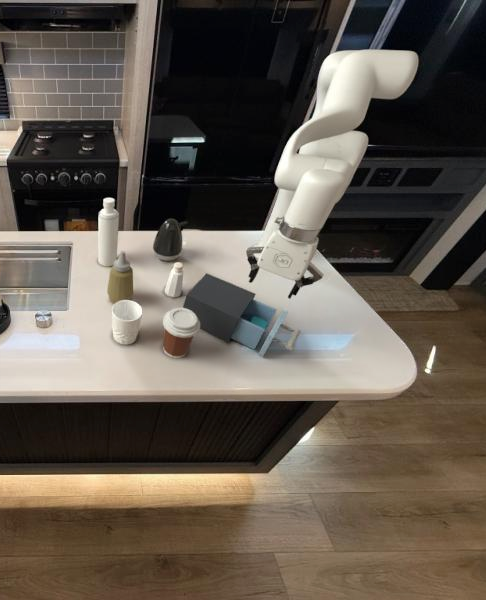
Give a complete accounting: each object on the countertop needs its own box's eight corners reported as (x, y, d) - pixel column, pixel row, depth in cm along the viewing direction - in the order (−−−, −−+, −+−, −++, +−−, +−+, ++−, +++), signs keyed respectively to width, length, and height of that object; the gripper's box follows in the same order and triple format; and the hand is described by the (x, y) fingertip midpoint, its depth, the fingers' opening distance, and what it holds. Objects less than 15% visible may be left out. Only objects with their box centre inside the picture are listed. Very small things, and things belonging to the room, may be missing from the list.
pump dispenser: (182, 265, 113) (191, 227, 102) (153, 264, 113) (159, 227, 102) (177, 249, 120) (185, 212, 110) (150, 249, 120) (155, 212, 110)
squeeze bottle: (130, 310, 95) (135, 262, 83) (104, 306, 97) (105, 258, 84) (133, 293, 101) (138, 245, 89) (109, 290, 102) (110, 242, 90)
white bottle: (105, 253, 118) (106, 188, 101) (120, 259, 115) (124, 194, 98) (94, 262, 114) (94, 196, 97) (110, 268, 111) (112, 201, 94)
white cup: (123, 321, 92) (125, 295, 85) (144, 335, 88) (148, 310, 81) (105, 335, 88) (105, 310, 81) (126, 351, 84) (128, 325, 77)
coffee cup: (181, 332, 89) (189, 301, 81) (198, 356, 82) (209, 325, 74) (152, 340, 87) (157, 308, 79) (167, 365, 80) (175, 335, 72)
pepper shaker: (174, 300, 99) (180, 272, 91) (160, 291, 102) (165, 264, 94) (184, 292, 101) (191, 265, 94) (171, 284, 104) (177, 257, 97)
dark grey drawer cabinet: (244, 318, 93) (255, 293, 86) (227, 343, 86) (238, 319, 79) (199, 297, 100) (206, 273, 93) (180, 318, 93) (186, 294, 86)
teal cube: (249, 325, 88) (253, 315, 85) (263, 332, 86) (269, 322, 83) (243, 333, 86) (248, 323, 83) (258, 340, 84) (263, 330, 81)
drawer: (294, 339, 86) (307, 319, 80) (281, 366, 79) (294, 346, 74) (229, 310, 94) (237, 290, 89) (213, 331, 88) (220, 312, 82)
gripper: (253, 223, 71) (232, 281, 83) (340, 251, 63) (302, 310, 75) (265, 210, 75) (242, 267, 87) (347, 235, 67) (310, 294, 79)
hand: (270, 287), depth 81 cm, fingers open, 9 cm apart
